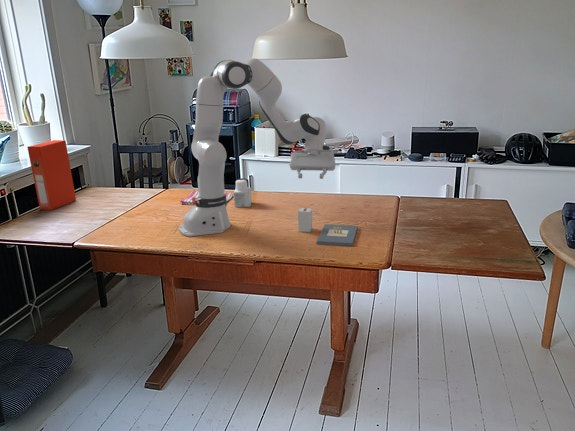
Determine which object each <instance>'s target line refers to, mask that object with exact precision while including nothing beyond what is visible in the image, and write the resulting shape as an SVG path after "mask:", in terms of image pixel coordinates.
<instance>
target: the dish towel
mask: <svg viewBox="0 0 575 431" xmlns="http://www.w3.org/2000/svg"><path fill="white" fill-rule="evenodd" d="M225 194H226V200H227V202H229V201H230V200H231V199H232V198H234V193H231V192H225ZM198 196H199V190H194V189H193V190H192V191H191V192H190V193H189V195H187V196H186V197H184V198H181V199H180V200H179V201H180V203H181V205H189V206H195V202H193V201H192V197H196V198H197V197H198Z"/></svg>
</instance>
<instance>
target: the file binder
mask: <svg viewBox="0 0 575 431" xmlns="http://www.w3.org/2000/svg"><path fill="white" fill-rule="evenodd" d="M26 148H27V152H28V153H27V154H28V157H29V162H30V167H31V171H32V177H33V181H34V187H35V192H36V195H37V196H36V197H37V201H38V206H39V209H40V210H45V211H53V210H55V209H58V208H61V207H63V206H65V205H68V204H71V203H72V202H75V201H77V196H76V190H75V186H74V185H75V184H74V180H73V174H72V169H71V163H70V157H69V154H68V153H69V152H68V148H67V142H66V140H64V139H63V140H60V139H58V140H57V139H52V140H49V141H45V142H42V143H37V144H33V145H29V146H27V147H26Z"/></svg>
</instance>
